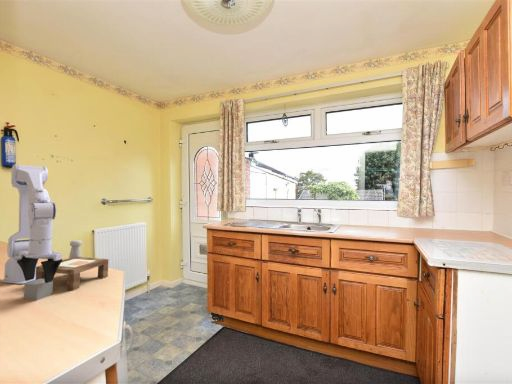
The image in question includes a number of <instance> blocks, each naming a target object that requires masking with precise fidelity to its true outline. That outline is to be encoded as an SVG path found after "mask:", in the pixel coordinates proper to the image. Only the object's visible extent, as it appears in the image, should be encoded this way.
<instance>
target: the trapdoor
mask: <svg viewBox="0 0 512 384" xmlns="http://www.w3.org/2000/svg"><path fill="white" fill-rule="evenodd" d="M95 261H96V260H84V259H72V260H69V261H65V262H61V264H60V265H59V266H60V267H71V268H75V267H79V266H82V265H85V264H88V263H91V262H95Z"/></svg>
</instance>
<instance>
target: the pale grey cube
mask: <svg viewBox="0 0 512 384" xmlns="http://www.w3.org/2000/svg"><path fill="white" fill-rule="evenodd" d="M53 283H54V280H53V281H51V282H48V283H45V280H44V279H41V278H40V279H37V280H33V281H30V282H27V283H24V285H23V286H24V287H23V288H24V289H23V290H24V291H23V299H24V300H30V301H39V300H42V299H44V298H47V297H49V296H52V295H53V292H54V291H53V290H54V289H53V288H54V284H53Z"/></svg>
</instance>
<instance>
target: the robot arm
mask: <svg viewBox="0 0 512 384" xmlns="http://www.w3.org/2000/svg"><path fill="white" fill-rule="evenodd" d="M10 174H11V186H12V187H13V188H15V189H17V190H18V194H19V197H18V198H19V199H18V201H19V202H18V231H17V232H15V233H14V234H12V235H11V236H9V238H8V240H7V241H8V243H7V250H6V251H7V253H6V254H7V257H9V258H8V259H7V260H6V262H5V264H4V279H3V280H1V283H9V284H17V285H23V284H24V285H25V283H28V282H31V281H34V280H36V267H37V266H39V265H38V261H39V259H41V260H44V261H40V265H42V267H43V270H44V280H45V283H48V282H51V281H53V282H54V279H55V275H56V274H57V273H56V271H57V269H58V267H59V265H60V264H61V262H62V260H63V254H62V252H61V253H59V252H55V251H54V250H53V230H54V229H53V227H54V220H55V219H56V215H57V206H56V203H55V202H54V201H52V200H51V198H50V194H49V192H48V190H47V189H45V188H44V186H45V184H46V182H47V181H48V177H49V169H48V168H47V167H46V166H39V165H38V166H36V165H24V164H18V163H15V164H13V165H12V167H11V173H10ZM52 250H53V251H52Z"/></svg>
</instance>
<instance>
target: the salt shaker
mask: <svg viewBox="0 0 512 384" xmlns="http://www.w3.org/2000/svg"><path fill="white" fill-rule="evenodd" d="M69 242H70V243H69V246H70V247H71V248H70V251H69V255H68V258H72V257H83V256H82V250H81V246H82V245H83V241H82V240H80V239H73V240H70V241H69Z"/></svg>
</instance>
